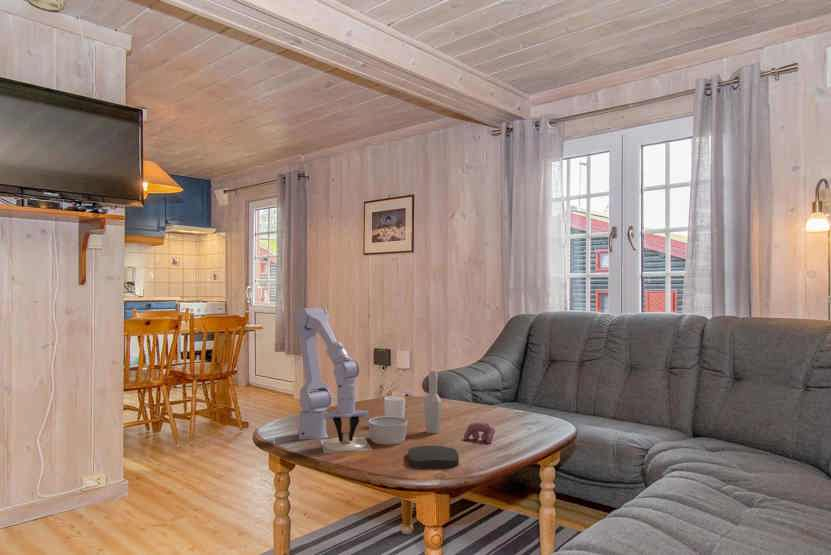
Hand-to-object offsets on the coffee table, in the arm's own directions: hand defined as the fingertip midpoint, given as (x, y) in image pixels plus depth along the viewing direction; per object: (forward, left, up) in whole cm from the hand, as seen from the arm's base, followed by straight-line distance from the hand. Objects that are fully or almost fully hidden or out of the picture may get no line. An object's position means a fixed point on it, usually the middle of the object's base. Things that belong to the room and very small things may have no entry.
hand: (345, 440), depth 182 cm
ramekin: (+14, +3, -2) cm, 15 cm away
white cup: (+22, +24, -2) cm, 32 cm away
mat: (0, 0, -2) cm, 2 cm away
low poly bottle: (+32, +11, -2) cm, 34 cm away
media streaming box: (+24, -20, -2) cm, 31 cm away
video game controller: (+45, -2, -2) cm, 45 cm away
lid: (0, 0, -1) cm, 1 cm away
